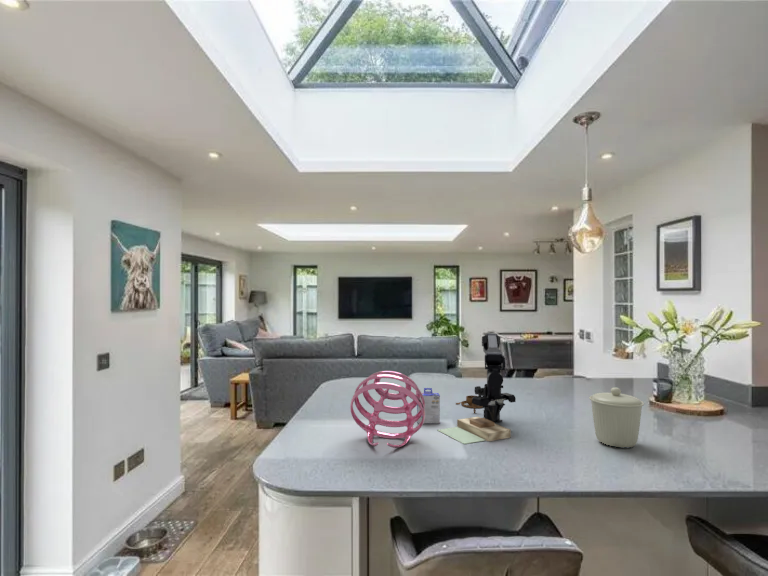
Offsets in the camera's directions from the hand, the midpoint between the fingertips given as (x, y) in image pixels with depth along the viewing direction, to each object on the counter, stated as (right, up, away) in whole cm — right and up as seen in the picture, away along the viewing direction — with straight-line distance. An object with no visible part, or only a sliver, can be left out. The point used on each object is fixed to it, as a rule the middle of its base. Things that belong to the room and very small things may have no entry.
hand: (493, 420), depth 173 cm
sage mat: (-15, -4, -7) cm, 17 cm away
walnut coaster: (-6, -1, -3) cm, 6 cm away
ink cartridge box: (-26, -4, +11) cm, 28 cm away
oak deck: (-5, -4, -3) cm, 7 cm away
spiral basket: (-43, -4, -15) cm, 46 cm away
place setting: (-2, -6, +37) cm, 37 cm away
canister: (+42, -4, -15) cm, 45 cm away
